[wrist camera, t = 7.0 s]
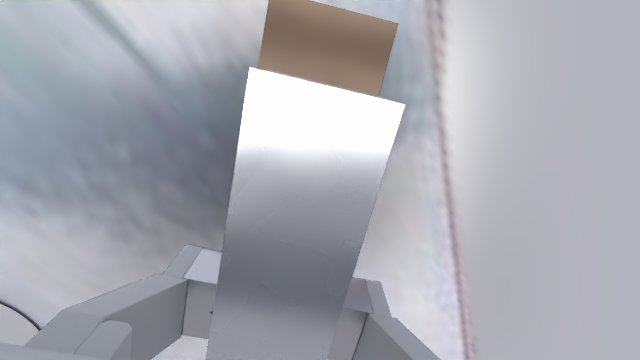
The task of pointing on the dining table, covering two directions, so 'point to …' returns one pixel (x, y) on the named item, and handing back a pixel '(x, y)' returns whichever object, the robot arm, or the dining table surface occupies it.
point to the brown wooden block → (326, 44)
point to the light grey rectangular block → (297, 214)
